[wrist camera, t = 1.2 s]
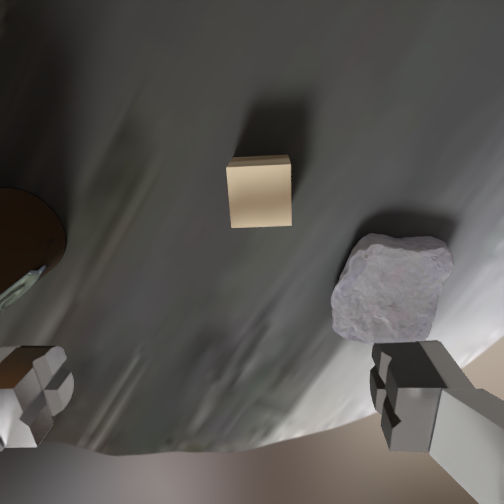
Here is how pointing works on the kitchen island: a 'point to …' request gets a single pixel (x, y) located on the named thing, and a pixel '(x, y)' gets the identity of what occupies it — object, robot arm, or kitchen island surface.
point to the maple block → (259, 191)
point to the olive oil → (26, 243)
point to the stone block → (390, 288)
